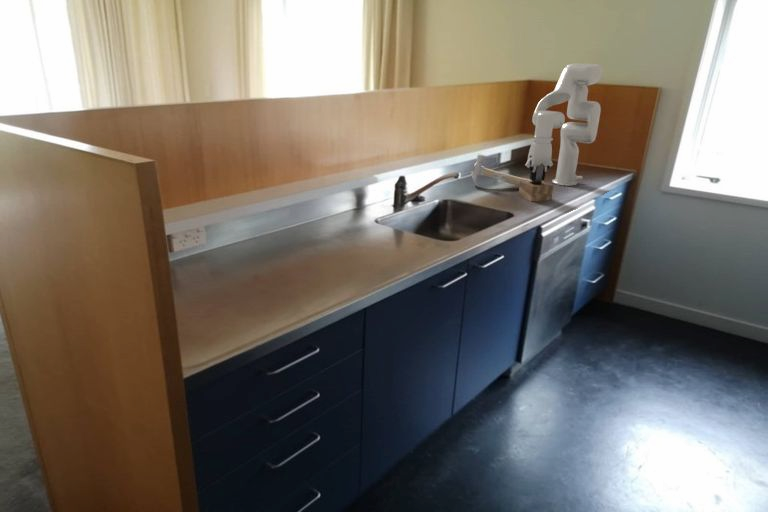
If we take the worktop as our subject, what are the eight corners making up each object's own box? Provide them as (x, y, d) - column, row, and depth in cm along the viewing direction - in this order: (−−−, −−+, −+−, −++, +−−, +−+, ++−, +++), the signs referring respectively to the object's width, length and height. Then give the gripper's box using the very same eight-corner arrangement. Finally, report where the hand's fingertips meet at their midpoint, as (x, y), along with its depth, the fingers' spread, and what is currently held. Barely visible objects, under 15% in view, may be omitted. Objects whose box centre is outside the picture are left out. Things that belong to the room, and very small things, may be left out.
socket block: (538, 194, 258) (540, 180, 256) (551, 200, 248) (553, 185, 246) (518, 195, 255) (520, 181, 253) (530, 201, 245) (532, 186, 243)
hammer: (534, 168, 268) (477, 153, 267) (536, 170, 263) (478, 154, 262) (523, 198, 273) (467, 182, 273) (525, 200, 269) (468, 184, 268)
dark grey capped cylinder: (537, 188, 253) (541, 159, 248) (542, 190, 249) (546, 160, 244) (529, 188, 252) (533, 159, 247) (534, 191, 248) (538, 161, 243)
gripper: (553, 139, 248) (547, 177, 254) (521, 139, 243) (516, 179, 250) (563, 141, 241) (557, 181, 248) (530, 142, 236) (525, 182, 243)
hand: (537, 179), depth 249 cm, fingers closed on dark grey capped cylinder, 4 cm apart
